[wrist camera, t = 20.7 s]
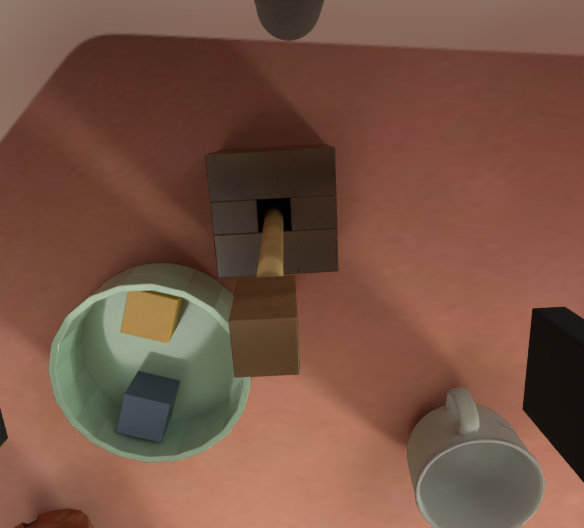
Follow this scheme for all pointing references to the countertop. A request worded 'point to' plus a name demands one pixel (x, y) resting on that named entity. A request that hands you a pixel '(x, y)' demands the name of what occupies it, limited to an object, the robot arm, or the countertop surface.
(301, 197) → the holder
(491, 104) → the countertop surface
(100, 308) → the bowl
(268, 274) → the brown wooden peg
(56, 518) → the potted plant
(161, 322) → the mustard block
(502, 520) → the teacup
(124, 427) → the slate block
